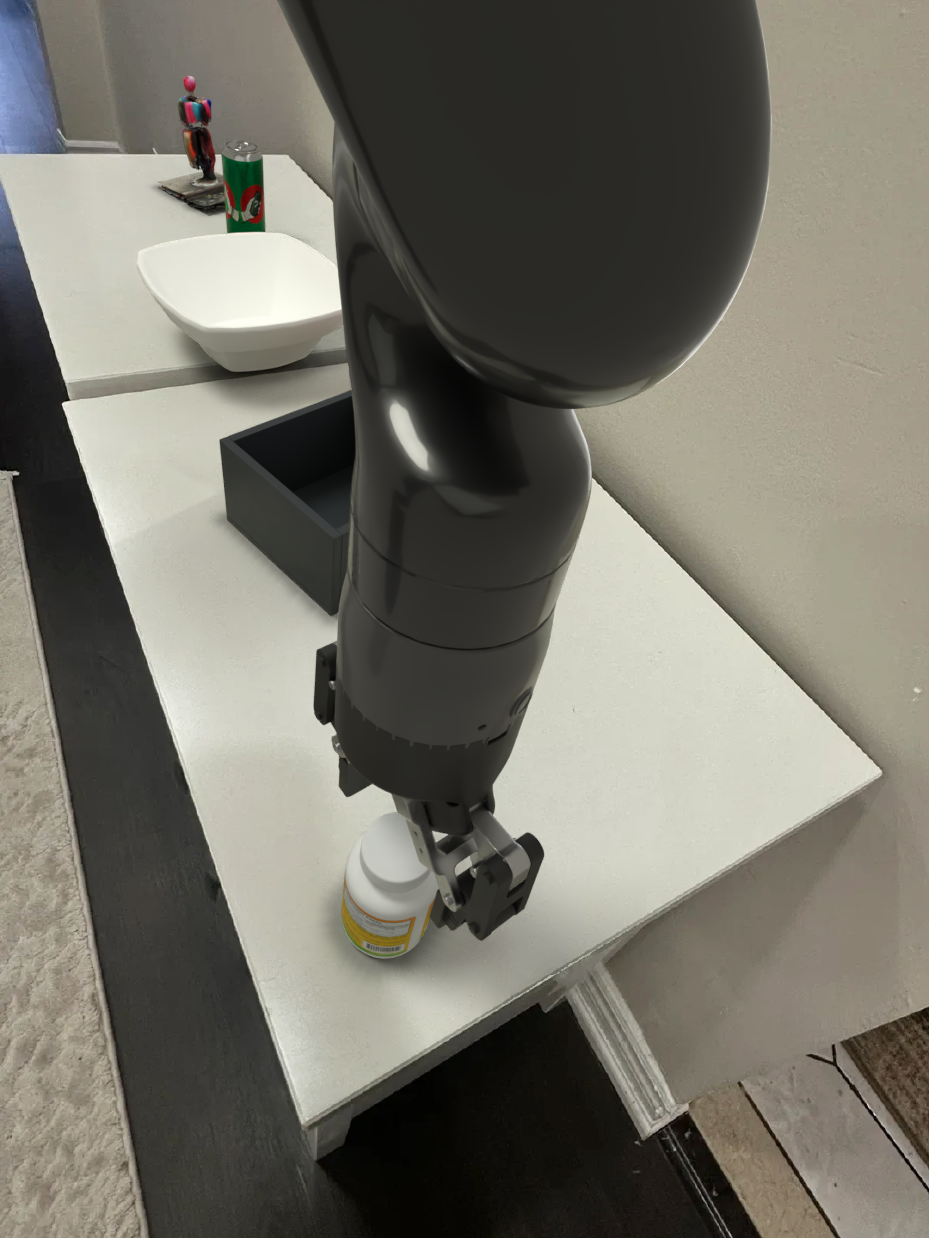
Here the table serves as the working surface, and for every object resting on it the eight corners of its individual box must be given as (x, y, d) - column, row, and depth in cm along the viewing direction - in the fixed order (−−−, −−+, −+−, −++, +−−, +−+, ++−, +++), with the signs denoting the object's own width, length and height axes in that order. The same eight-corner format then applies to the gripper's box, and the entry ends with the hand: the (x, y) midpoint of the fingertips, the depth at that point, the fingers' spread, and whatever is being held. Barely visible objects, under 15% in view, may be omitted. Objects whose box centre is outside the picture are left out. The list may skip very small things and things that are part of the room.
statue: (160, 197, 113) (134, 74, 103) (212, 184, 119) (193, 66, 108) (206, 215, 108) (184, 88, 98) (258, 201, 114) (243, 79, 103)
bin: (331, 616, 63) (334, 539, 56) (226, 519, 68) (218, 439, 62) (455, 544, 71) (470, 469, 64) (353, 463, 76) (357, 387, 70)
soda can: (270, 240, 107) (267, 144, 98) (259, 254, 103) (254, 156, 94) (235, 232, 107) (228, 135, 98) (222, 246, 103) (214, 147, 94)
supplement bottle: (394, 856, 50) (409, 781, 43) (445, 924, 47) (470, 856, 40) (323, 905, 47) (327, 833, 40) (374, 979, 45) (387, 917, 38)
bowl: (203, 419, 77) (194, 340, 71) (126, 322, 87) (113, 245, 81) (377, 378, 87) (383, 305, 81) (291, 294, 97) (290, 224, 91)
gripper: (255, 571, 30) (272, 779, 42) (477, 860, 23) (422, 1010, 35) (411, 511, 34) (386, 719, 46) (642, 747, 27) (542, 917, 39)
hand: (402, 846), depth 41 cm, fingers open, 8 cm apart
